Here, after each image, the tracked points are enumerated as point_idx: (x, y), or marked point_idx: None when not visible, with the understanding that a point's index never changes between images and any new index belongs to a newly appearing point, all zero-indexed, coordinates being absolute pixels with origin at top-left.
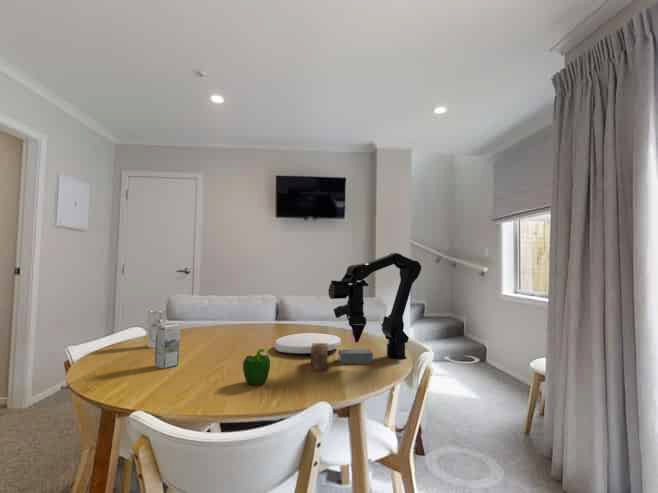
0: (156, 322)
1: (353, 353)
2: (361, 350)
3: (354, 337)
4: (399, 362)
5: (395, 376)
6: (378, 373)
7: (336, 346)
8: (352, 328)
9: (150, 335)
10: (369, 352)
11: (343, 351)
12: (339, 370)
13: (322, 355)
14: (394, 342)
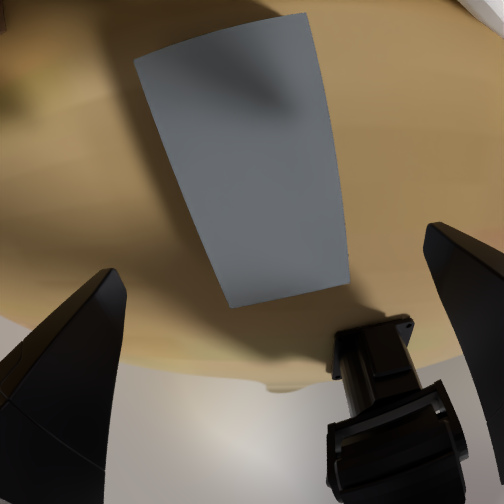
0: None
1: (177, 177)
2: (301, 234)
3: (60, 306)
4: (273, 360)
5: None
6: (67, 290)
7: (478, 18)
8: (499, 287)
9: None
10: (245, 291)
11: (228, 70)
12: (20, 98)
13: None
14: (359, 412)
